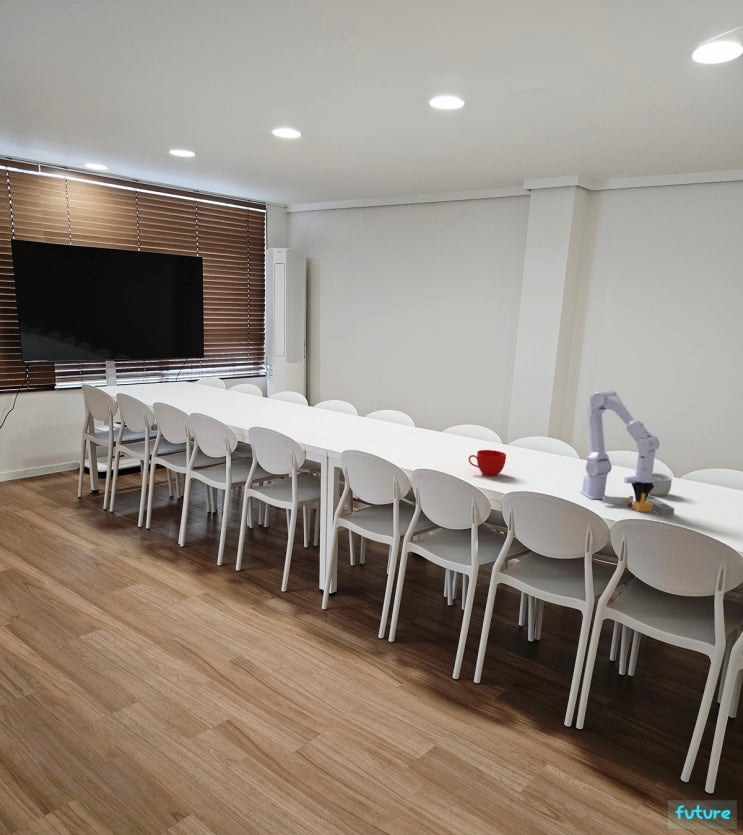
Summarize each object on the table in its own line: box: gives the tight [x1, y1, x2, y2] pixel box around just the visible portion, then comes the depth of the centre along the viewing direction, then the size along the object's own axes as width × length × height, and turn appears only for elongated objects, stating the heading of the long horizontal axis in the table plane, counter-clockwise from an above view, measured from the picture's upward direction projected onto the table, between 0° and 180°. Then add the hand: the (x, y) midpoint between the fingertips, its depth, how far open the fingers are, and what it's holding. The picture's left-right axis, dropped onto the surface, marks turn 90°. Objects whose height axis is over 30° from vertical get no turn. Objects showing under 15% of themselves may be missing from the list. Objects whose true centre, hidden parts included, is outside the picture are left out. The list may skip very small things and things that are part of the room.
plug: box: [632, 492, 653, 513], centre depth 240 cm, size 4×6×7 cm
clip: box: [602, 495, 634, 508], centre depth 244 cm, size 12×2×4 cm, turn 91°
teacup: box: [648, 472, 673, 497], centre depth 265 cm, size 14×11×8 cm
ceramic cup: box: [468, 449, 507, 477], centre depth 279 cm, size 13×17×10 cm
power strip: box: [646, 494, 675, 517], centre depth 243 cm, size 16×5×3 cm, turn 8°
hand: (640, 501), depth 239 cm, fingers closed on plug, 2 cm apart
